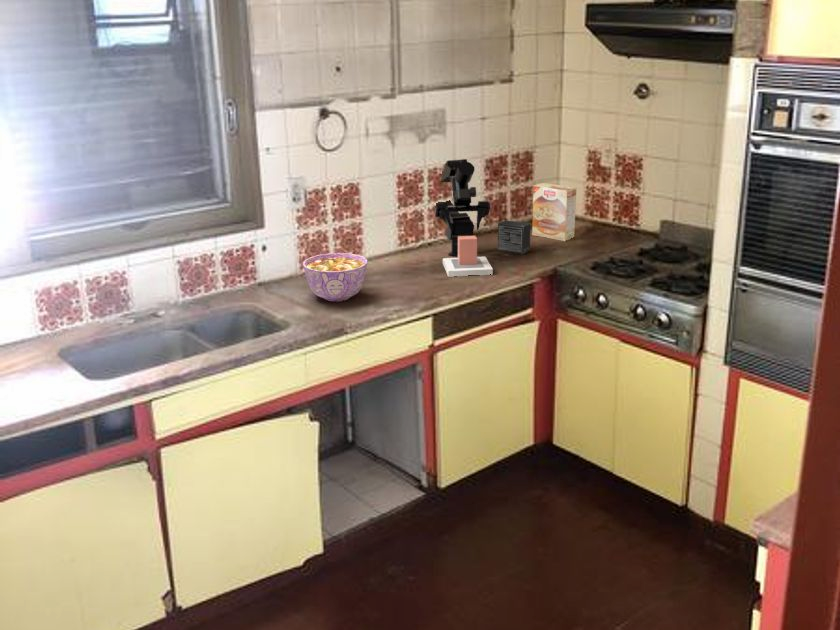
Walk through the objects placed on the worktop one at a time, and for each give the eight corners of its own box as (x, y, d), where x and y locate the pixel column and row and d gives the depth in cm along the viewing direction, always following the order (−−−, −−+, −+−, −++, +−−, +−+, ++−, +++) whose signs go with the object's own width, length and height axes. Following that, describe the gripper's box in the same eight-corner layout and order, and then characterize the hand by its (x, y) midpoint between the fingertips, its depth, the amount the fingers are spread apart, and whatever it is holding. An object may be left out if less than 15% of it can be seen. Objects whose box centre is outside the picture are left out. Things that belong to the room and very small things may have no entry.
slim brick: (475, 261, 317) (475, 235, 314) (476, 264, 313) (477, 238, 310) (457, 261, 316) (457, 236, 313) (459, 265, 313) (459, 239, 310)
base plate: (442, 263, 322) (442, 257, 321) (485, 261, 323) (485, 255, 323) (448, 276, 308) (448, 270, 307) (492, 274, 309) (492, 268, 309)
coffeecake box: (531, 235, 356) (532, 185, 349) (541, 231, 361) (543, 182, 354) (564, 241, 346) (567, 190, 340) (574, 237, 352) (577, 187, 345)
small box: (530, 250, 336) (531, 222, 332) (522, 255, 331) (523, 226, 327) (505, 246, 341) (505, 219, 338) (496, 251, 336) (497, 223, 332)
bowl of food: (335, 312, 277) (333, 276, 273) (291, 298, 289) (289, 263, 285) (381, 296, 290) (380, 260, 286) (338, 283, 303) (337, 249, 299)
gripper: (435, 179, 314) (438, 219, 308) (489, 177, 315) (494, 217, 309) (433, 196, 324) (436, 235, 318) (486, 195, 326) (490, 233, 319)
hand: (464, 230), depth 316 cm, fingers open, 9 cm apart
